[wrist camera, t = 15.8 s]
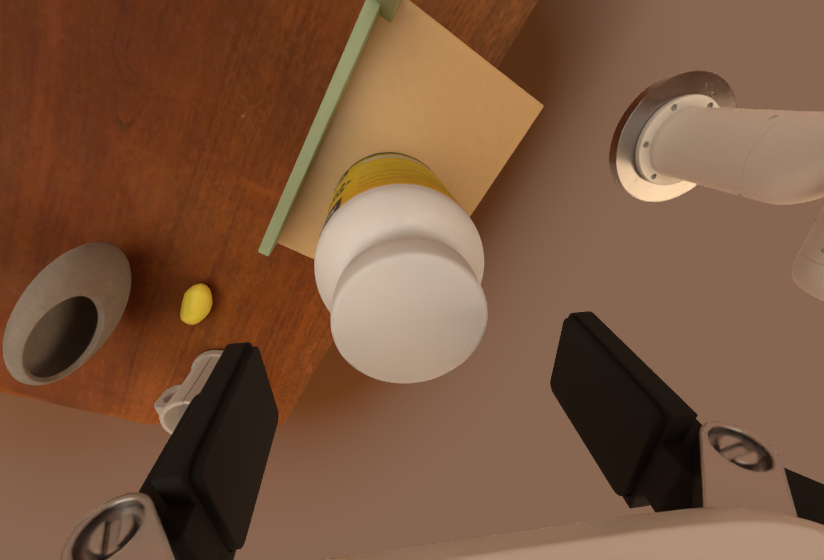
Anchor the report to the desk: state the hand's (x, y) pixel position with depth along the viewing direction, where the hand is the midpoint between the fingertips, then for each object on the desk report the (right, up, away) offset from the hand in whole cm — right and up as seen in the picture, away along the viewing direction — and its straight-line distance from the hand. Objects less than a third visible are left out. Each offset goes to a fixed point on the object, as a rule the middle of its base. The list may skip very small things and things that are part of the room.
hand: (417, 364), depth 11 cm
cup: (-36, -14, +52) cm, 65 cm away
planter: (-44, +3, +42) cm, 61 cm away
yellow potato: (-34, 0, +45) cm, 57 cm away
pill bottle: (-2, +7, +10) cm, 12 cm away
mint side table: (-4, +23, +36) cm, 43 cm away
